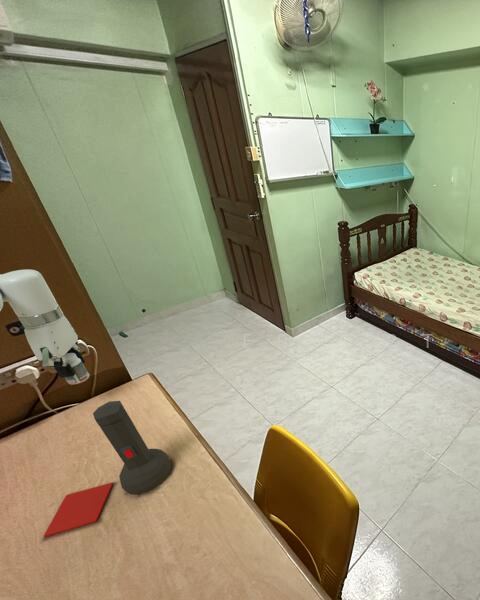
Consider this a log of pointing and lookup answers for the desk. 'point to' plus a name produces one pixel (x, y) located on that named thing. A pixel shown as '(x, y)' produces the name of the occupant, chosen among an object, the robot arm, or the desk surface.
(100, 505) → the red pad
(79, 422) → the desk surface
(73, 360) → the pill bottle
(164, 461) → the flashlight
